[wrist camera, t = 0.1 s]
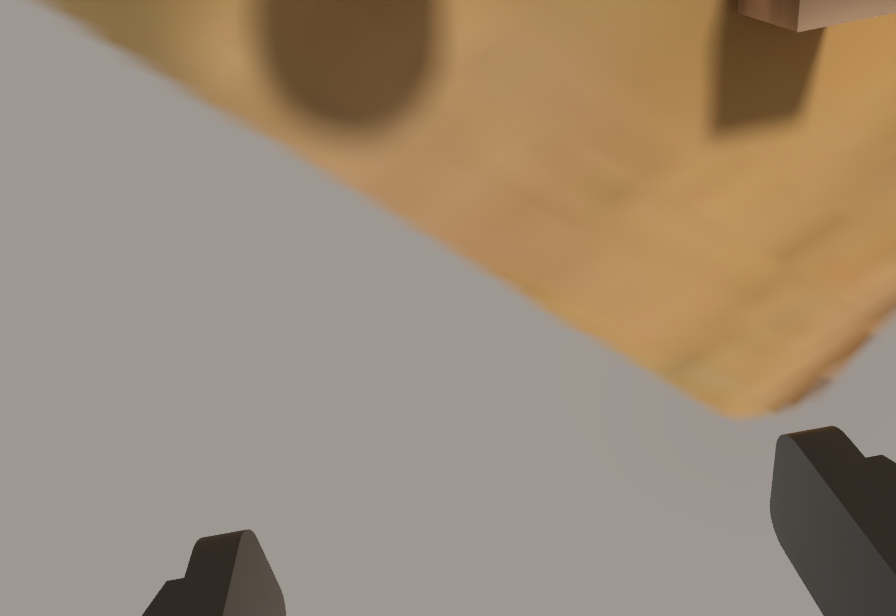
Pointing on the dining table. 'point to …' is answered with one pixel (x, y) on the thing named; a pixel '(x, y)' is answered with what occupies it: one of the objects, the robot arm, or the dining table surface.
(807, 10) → the walnut block
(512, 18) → the dining table surface
